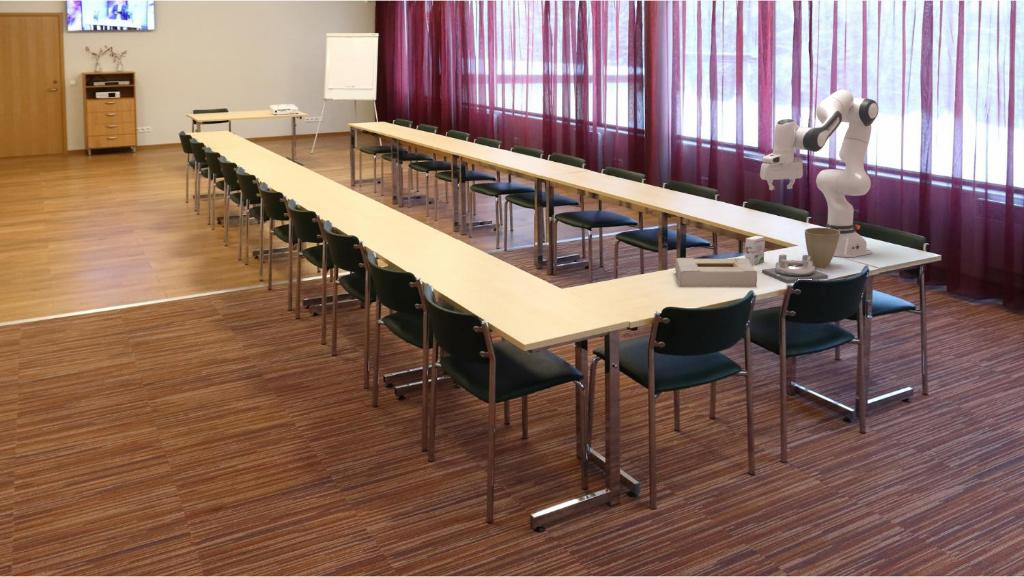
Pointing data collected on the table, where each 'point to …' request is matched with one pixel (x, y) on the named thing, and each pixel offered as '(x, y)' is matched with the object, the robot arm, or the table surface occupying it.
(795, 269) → the ring nut
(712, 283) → the box
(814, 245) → the plant pot
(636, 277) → the table surface
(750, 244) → the ink box
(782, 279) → the stud plate
